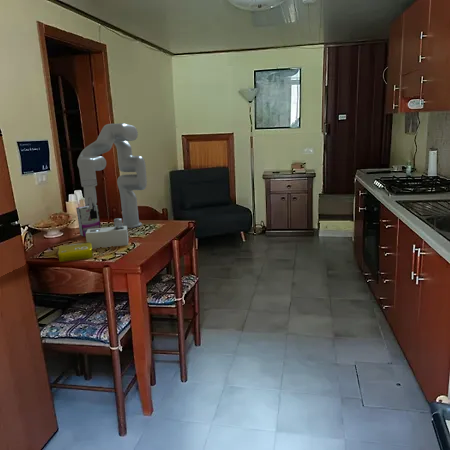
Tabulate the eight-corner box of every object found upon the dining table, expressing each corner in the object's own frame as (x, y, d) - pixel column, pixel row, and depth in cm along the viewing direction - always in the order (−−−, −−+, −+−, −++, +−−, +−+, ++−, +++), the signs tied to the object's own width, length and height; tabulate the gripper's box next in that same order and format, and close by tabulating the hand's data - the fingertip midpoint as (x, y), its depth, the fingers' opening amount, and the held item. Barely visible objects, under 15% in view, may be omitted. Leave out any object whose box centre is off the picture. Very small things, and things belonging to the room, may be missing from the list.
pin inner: (115, 229, 215) (114, 218, 214) (123, 229, 216) (121, 217, 215) (114, 231, 212) (113, 220, 210) (122, 230, 212) (121, 219, 211)
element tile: (92, 250, 207) (90, 240, 206) (93, 258, 193) (92, 248, 192) (60, 254, 202) (58, 245, 201) (59, 263, 188) (57, 253, 187)
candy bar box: (97, 231, 244) (94, 204, 241) (101, 232, 241) (98, 205, 237) (79, 235, 237) (75, 207, 234) (83, 236, 234) (79, 208, 230)
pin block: (89, 243, 217) (87, 229, 216) (128, 240, 221) (126, 225, 219) (87, 248, 208) (85, 233, 206) (128, 244, 211) (126, 229, 210)
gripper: (83, 181, 213) (88, 215, 217) (79, 185, 198) (84, 222, 203) (98, 180, 214) (102, 214, 219) (95, 184, 200) (100, 221, 204)
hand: (94, 218), depth 211 cm, fingers closed
